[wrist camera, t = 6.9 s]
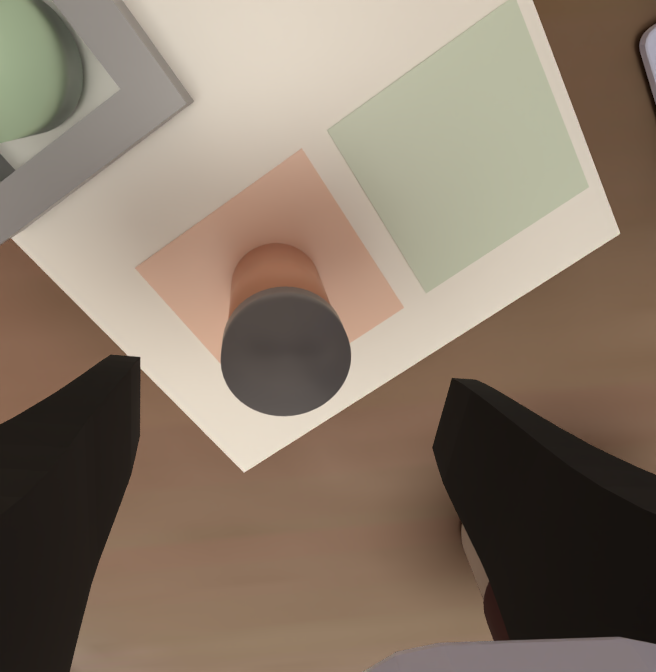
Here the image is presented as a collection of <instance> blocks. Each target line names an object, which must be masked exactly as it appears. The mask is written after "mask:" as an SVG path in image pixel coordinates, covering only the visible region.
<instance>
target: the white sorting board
mask: <svg viewBox="0 0 656 672" xmlns="http://www.w3.org/2000/svg"><path fill="white" fill-rule="evenodd" d="M42 1H44V2H45V3H46V4H47V5H49V6H50V7H51V8H52V9H53V10H54V11H55V12H56V13H57V15H58V16H59V17H60V18H61V19H62V20H63V22H64V23H65V25H66V26H67V28H68V29H69V31H70V33H71V34H72V36H73V38H74V40H75V43H76V45H77V47H78V50H79V54H80V57H81V62H82V68H83V85H82V91H81V95H80V98H79V101H78V104H77V106H76V107H75V109H74V111H73V112H72V114H71V115H70V116H69V117H68V119H67V120H65V121H64V122H63V123H62V124H61V125H59V126H58V127H56V128H55V129H52V130H50V131H48V132H45V133H41V134H38V135H33V136H29V137H25V138H20V139H16V140H11V141H7V142H3V143H0V245H1V244H3V243H5V242H6V241H8V240H9V239H12V240H13V241H14V242H15V243H16V244H17V245H18V246H19V247H20V248H21V249H22V250H23V251H24V252H25V253H26V254H27V255H28V256H29V257H30V258H31V259H32V260H33V261H34V262H35V263H36V264H37V265H38V266H39V267H40V268H41V269H42V270H43V271H44V272H45V273H46V274H47V275H48V276H49V277H50V278H51V279H52V280H53V281H54V282H55V283H56V284H57V285H58V286H59V287H60V288H61V289H62V290H63V291H64V292H65V293H66V294H67V295H68V296H69V297H70V298H71V299H72V300H73V301H74V302H75V303H76V304H77V305H78V306H79V307H80V308H81V309H82V310H83V311H84V312H85V313H86V314H87V315H88V316H89V317H90V318H91V319H92V320H93V321H94V322H95V323H96V324H97V325H98V326H99V327H100V328H101V329H102V330H103V331H104V332H105V333H106V334H107V335H108V336H109V337H110V338H111V339H112V340H113V341H114V342H115V343H116V344H117V345H118V346H119V347H120V348H121V349H122V350H123V351H124V352H125V353H126V354H127V355H128V356H135V357H140V368H141V369H142V370H143V371H144V372H145V373H146V374H147V375H148V376H149V377H150V378H151V379H152V380H153V381H154V382H155V383H156V384H157V385H158V386H159V387H160V388H161V389H162V390H163V391H164V392H165V393H166V394H167V395H168V396H169V397H170V398H171V399H172V400H173V401H174V402H175V404H176V405H177V406H178V407H179V408H180V409H181V410H182V411H183V412H184V413H185V414H186V415H187V416H188V417H189V418H190V419H191V420H192V421H193V422H194V423H195V424H196V425H197V426H198V427H199V428H200V429H201V430H202V431H203V432H204V433H205V434H206V435H207V436H208V437H209V438H210V439H211V440H212V441H213V442H214V443H215V444H216V445H217V446H218V447H219V448H220V449H221V450H222V451H223V452H224V453H225V454H226V455H227V456H228V457H229V458H230V459H231V460H232V461H233V462H234V463H235V464H236V465H237V466H238V467H239V468H240V469H241V470H242V471H243V472H246V471H247V470H249V469H250V468H252V467H254V466H255V465H257V464H258V463H260V462H262V461H263V460H265V459H266V458H268V457H269V456H271V455H273V454H274V453H276V452H277V451H279V450H280V449H282V448H284V447H285V446H287V445H288V444H290V443H291V442H293V441H295V440H296V439H298V438H299V437H301V436H302V435H304V434H306V433H307V432H309V431H310V430H312V429H313V428H315V427H317V426H318V425H320V424H321V423H323V422H325V421H326V420H328V419H329V418H331V417H332V416H334V415H336V414H337V413H339V412H340V411H342V410H343V409H345V408H347V407H348V406H350V405H351V404H353V403H354V402H356V401H358V400H359V399H361V398H362V397H364V396H365V395H367V394H369V393H370V392H372V391H373V390H375V389H377V388H378V387H380V386H381V385H383V384H384V383H386V382H388V381H389V380H391V379H392V378H394V377H395V376H397V375H399V374H400V373H402V372H403V371H405V370H406V369H408V368H410V367H411V366H413V365H414V364H416V363H417V362H419V361H421V360H422V359H424V358H425V357H427V356H428V355H430V354H432V353H433V352H435V351H436V350H438V349H440V348H441V347H443V346H444V345H446V344H447V343H449V342H451V341H452V340H454V339H455V338H457V337H458V336H460V335H462V334H463V333H465V332H466V331H468V330H469V329H471V328H473V327H474V326H476V325H477V324H479V323H480V322H482V321H484V320H485V319H487V318H488V317H490V316H491V315H493V314H495V313H496V312H498V311H499V310H501V309H503V308H504V307H506V306H507V305H509V304H510V303H512V302H514V301H515V300H517V299H518V298H520V297H521V296H523V295H525V294H526V293H528V292H529V291H531V290H532V289H534V288H536V287H537V286H539V285H540V284H542V283H543V282H545V281H547V280H548V279H550V278H551V277H553V276H554V275H556V274H558V273H559V272H561V271H562V270H564V269H566V268H567V267H569V266H570V265H572V264H573V263H575V262H577V261H578V260H580V259H581V258H583V257H584V256H586V255H588V254H589V253H591V252H592V251H594V250H595V249H597V248H599V247H600V246H602V245H603V244H605V243H606V242H608V241H610V240H611V239H613V238H614V237H616V236H618V235H619V234H620V231H619V229H618V226H617V223H616V221H615V218H614V215H613V213H612V210H611V207H610V205H609V202H608V199H607V197H606V194H605V192H604V189H603V186H602V184H601V181H600V178H599V176H598V173H597V170H596V168H595V165H594V162H593V160H592V157H591V154H590V152H589V149H588V146H587V144H586V141H585V138H584V136H583V133H582V130H581V128H580V125H579V122H578V120H577V117H576V114H575V112H574V109H573V106H572V104H571V101H570V98H569V96H568V93H567V90H566V88H565V85H564V82H563V80H562V77H561V74H560V72H559V69H558V66H557V64H556V61H555V58H554V56H553V53H552V51H551V48H550V45H549V43H548V40H547V37H546V35H545V32H544V29H543V27H542V24H541V21H540V19H539V16H538V13H537V11H536V8H535V5H534V3H533V0H42ZM270 243H281V244H287V245H290V246H293V247H295V248H297V249H299V250H301V251H302V252H304V253H305V254H306V255H307V256H308V257H309V258H310V259H311V260H312V262H313V263H314V265H315V267H316V269H317V271H318V273H319V276H320V279H321V281H322V284H323V286H324V289H325V291H326V294H327V296H328V299H329V301H330V304H331V306H332V307H333V308H334V310H335V311H336V313H337V314H338V316H339V318H340V320H341V322H342V324H343V327H344V329H345V332H346V334H347V337H348V340H349V343H350V348H351V364H350V369H349V372H348V375H347V378H346V380H345V382H344V384H343V385H342V387H341V388H340V390H339V391H338V392H337V393H336V394H335V395H334V396H333V397H332V398H331V399H330V400H329V401H328V402H326V403H325V404H324V405H322V406H320V407H318V408H317V409H314V410H312V411H310V412H307V413H304V414H300V415H295V416H273V415H267V414H264V413H260V412H258V411H255V410H253V409H251V408H249V407H248V406H246V405H245V404H243V403H242V402H241V401H239V400H238V399H237V398H236V397H235V396H234V394H233V393H232V392H231V391H230V389H229V388H228V386H227V384H226V382H225V380H224V377H223V374H222V370H221V348H222V339H223V333H224V329H225V326H226V323H227V321H228V316H229V305H230V295H231V284H232V277H233V273H234V270H235V268H236V266H237V264H238V263H239V261H240V260H241V259H242V258H243V257H244V256H245V255H246V254H247V253H248V252H250V251H251V250H253V249H254V248H257V247H259V246H262V245H265V244H270Z"/></svg>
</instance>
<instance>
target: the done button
mask: <svg viewBox="0 0 656 672" xmlns="http://www.w3.org/2000/svg"><path fill="white" fill-rule="evenodd" d="M82 85H83V68H82V62H81V57H80V54H79V50H78V47H77V45H76V43H75V40H74V38H73V36H72V34H71V33H70V31H69V29H68V28H67V26H66V25H65V23H64V22H63V20H62V19H61V18H60V17H59V16H58V15H57V13H56V12H55V11H54V10H53V9H52V8H51V7H50V6H49V5H47V4H46V3H45V2H44V1H42V0H0V143H3V142H7V141H11V140H16V139H20V138H25V137H29V136H33V135H38V134H41V133H45V132H48V131H50V130H52V129H55V128H56V127H58V126H59V125H61V124H62V123H63V122H64V121H65V120H67V119H68V117H69V116H70V115H71V114H72V112H73V111H74V109H75V107H76V106H77V104H78V101H79V98H80V95H81V91H82Z"/></svg>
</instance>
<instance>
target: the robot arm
mask: <svg viewBox="0 0 656 672" xmlns="http://www.w3.org/2000/svg"><path fill="white" fill-rule="evenodd" d="M639 48H640V53H641V57H642V60H643V63H644V67H645V70H646V73H647V77H648V80H649V83H650V87H651V90H652V93H653V97H654V100H655V103H656V24H654V25H653V26H651V27H650V28H649V29H648V30H647V31H645V32H644V34H643V36H642V37H641V40H640V44H639ZM139 437H140V357H135V356H121V355H110V356H108V357H106V358H105V359H103V360H102V361H101V362H99V363H98V364H96V365H95V366H93V367H92V368H91V369H89V370H88V371H86V372H85V373H84V374H82V375H81V376H79V377H78V378H76V379H75V380H73V381H72V382H70V383H69V384H67V385H66V386H65V387H63V388H62V389H60V390H59V391H57V392H56V393H54V394H52V395H51V396H49V397H47V398H46V399H44V400H42V401H41V402H39V403H37V404H36V405H34V406H32V407H31V408H29V409H27V410H26V411H24V412H22V413H21V414H19V415H17V416H15V417H13V418H12V419H10V420H8V421H6V422H4V423H2V424H0V672H70V668H71V664H72V659H73V655H74V651H75V647H76V643H77V639H78V635H79V631H80V627H81V623H82V619H83V615H84V611H85V607H86V604H87V600H88V596H89V592H90V588H91V584H92V581H93V578H94V575H95V572H96V569H97V566H98V563H99V560H100V557H101V555H102V552H103V549H104V547H105V544H106V541H107V539H108V536H109V533H110V531H111V528H112V525H113V523H114V520H115V517H116V514H117V512H118V509H119V506H120V504H121V501H122V498H123V496H124V493H125V490H126V487H127V485H128V482H129V479H130V476H131V473H132V469H133V464H134V460H135V456H136V451H137V446H138V442H139ZM432 448H433V451H434V455H435V459H436V462H437V466H438V469H439V472H440V475H441V478H442V481H443V484H444V486H445V488H446V490H447V493H448V495H449V497H450V499H451V501H452V503H453V505H454V507H455V510H456V512H457V514H458V516H459V518H460V520H461V522H462V524H463V526H464V528H465V530H466V532H467V534H468V536H469V538H470V541H471V543H472V545H473V547H474V549H475V551H476V553H477V555H478V557H479V559H480V561H481V563H482V566H483V568H484V570H485V573H486V575H487V577H488V579H489V582H490V585H491V587H492V590H493V593H494V596H495V599H496V601H497V604H498V607H499V610H500V613H501V615H502V618H503V621H504V624H505V627H506V630H507V633H508V636H509V639H510V640H508V641H478V642H448V643H435V644H431V645H426V646H421V647H416V648H412V649H407V650H402V651H397V652H395V653H393V654H391V655H390V656H388V657H386V658H385V659H383V660H381V661H380V662H378V663H376V664H375V665H373V666H371V667H370V668H368V669H366V670H365V671H363V672H656V475H655V474H652V473H650V472H648V471H645V470H643V469H641V468H638V467H636V466H634V465H632V464H629V463H627V462H625V461H623V460H621V459H619V458H617V457H614V456H612V455H610V454H608V453H606V452H604V451H602V450H600V449H598V448H596V447H594V446H592V445H590V444H588V443H586V442H584V441H583V440H581V439H579V438H577V437H575V436H574V435H572V434H570V433H568V432H566V431H564V430H563V429H561V428H559V427H557V426H556V425H554V424H552V423H551V422H549V421H547V420H546V419H544V418H542V417H540V416H539V415H537V414H536V413H534V412H532V411H531V410H529V409H527V408H526V407H524V406H522V405H521V404H519V403H517V402H516V401H514V400H512V399H511V398H509V397H507V396H506V395H504V394H502V393H501V392H499V391H497V390H495V389H494V388H492V387H490V386H488V385H486V384H484V383H482V382H480V381H477V380H473V379H458V378H452V380H451V384H450V387H449V391H448V394H447V398H446V401H445V405H444V408H443V412H442V415H441V419H440V422H439V426H438V430H437V433H436V437H435V440H434V444H433V447H432Z"/></svg>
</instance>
